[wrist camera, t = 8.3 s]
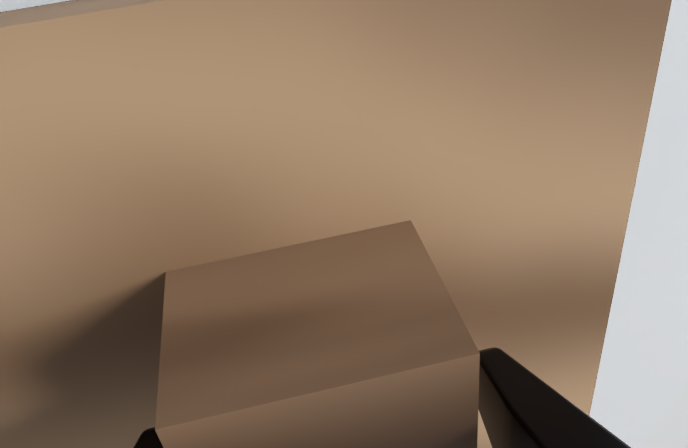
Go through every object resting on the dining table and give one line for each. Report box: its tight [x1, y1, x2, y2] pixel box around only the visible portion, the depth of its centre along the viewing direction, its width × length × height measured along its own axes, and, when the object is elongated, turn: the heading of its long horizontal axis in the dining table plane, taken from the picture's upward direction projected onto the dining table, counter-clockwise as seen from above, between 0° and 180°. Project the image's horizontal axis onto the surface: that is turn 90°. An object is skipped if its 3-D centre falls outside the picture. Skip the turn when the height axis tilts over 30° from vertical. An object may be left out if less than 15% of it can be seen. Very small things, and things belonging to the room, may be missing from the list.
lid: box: [0, 0, 672, 448], centre depth 10 cm, size 12×12×4 cm
